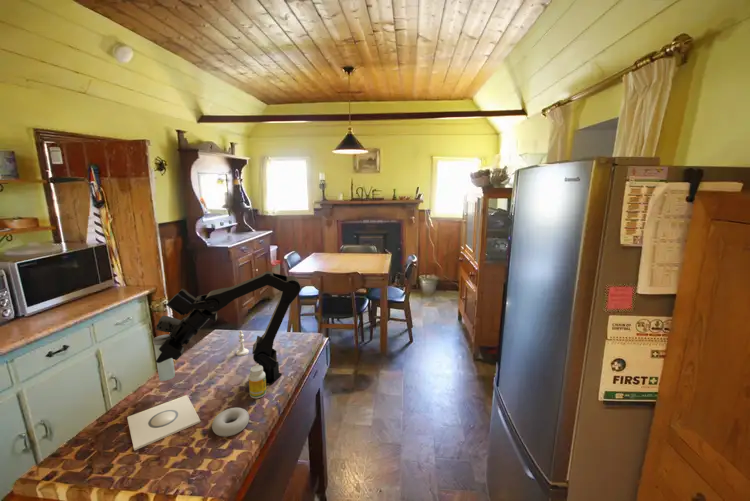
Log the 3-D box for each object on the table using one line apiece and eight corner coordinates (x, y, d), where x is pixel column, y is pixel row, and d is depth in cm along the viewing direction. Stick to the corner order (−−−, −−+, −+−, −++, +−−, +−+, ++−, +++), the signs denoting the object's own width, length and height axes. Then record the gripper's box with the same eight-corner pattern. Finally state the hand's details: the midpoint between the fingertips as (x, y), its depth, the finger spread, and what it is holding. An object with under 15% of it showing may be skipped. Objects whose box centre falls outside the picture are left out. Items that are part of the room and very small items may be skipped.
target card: (187, 396, 107) (187, 394, 107) (200, 422, 96) (200, 420, 96) (127, 418, 97) (127, 416, 97) (134, 450, 85) (133, 448, 85)
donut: (253, 414, 100) (219, 415, 99) (253, 404, 99) (219, 405, 98) (243, 438, 90) (206, 440, 89) (243, 427, 90) (205, 429, 89)
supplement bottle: (249, 390, 111) (248, 365, 109) (266, 387, 113) (264, 362, 111) (249, 400, 106) (247, 373, 104) (266, 397, 108) (265, 370, 106)
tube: (179, 373, 109) (174, 335, 107) (167, 381, 105) (162, 342, 102) (166, 372, 110) (161, 334, 107) (154, 380, 105) (149, 340, 103)
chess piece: (244, 356, 133) (242, 333, 131) (233, 355, 134) (231, 332, 132) (251, 350, 138) (249, 328, 136) (240, 349, 139) (239, 327, 137)
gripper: (179, 298, 113) (147, 332, 111) (163, 319, 95) (124, 359, 94) (206, 317, 117) (175, 350, 115) (195, 340, 99) (159, 379, 98)
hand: (159, 358), depth 106 cm, fingers closed on tube, 4 cm apart
